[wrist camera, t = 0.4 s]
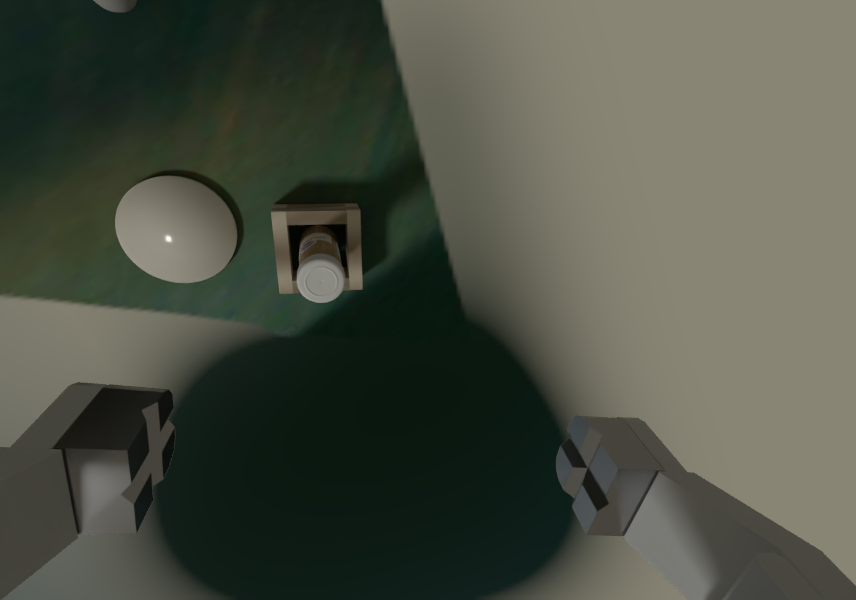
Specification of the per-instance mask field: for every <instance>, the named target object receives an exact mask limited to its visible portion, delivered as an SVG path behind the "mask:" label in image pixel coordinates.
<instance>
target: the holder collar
mask: <svg viewBox="0 0 856 600" xmlns="http://www.w3.org/2000/svg"><path fill="white" fill-rule="evenodd" d="M271 217H272V226H273V236H274V245H275V255H276V265H277V274H278V284H279V293H280V294H288V293H301V292H300V291H299V289H298V286H297V271H298V269H296V270H293V263H292V252H291V241H290V230H289V225H321V224H345V235H346V260H347V267H343V269H344V273H345V286H344V289H343V290H358V289H362V254H361V215H360V209H359V206H358V204H357V203H338V204H274V205H273V208H272V210H271Z"/></svg>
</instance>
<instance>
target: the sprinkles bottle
mask: <svg viewBox="0 0 856 600" xmlns="http://www.w3.org/2000/svg"><path fill="white" fill-rule="evenodd" d="M299 244H300V249H299V268H298V271H297V286H298V289H299V291H300V292H301V294H302V295H303V296H304V297H305V298H307V299H308V300H310V301H313V302H318V303H324V302H329V301H332V300H334V299H335V298H337V297H338V296H339V295H340V294H341V292H342V291H343V289H344V286H345V273H344V269H343V267H342V265H341V258H340V253H339V248H338V242H337V238H336V236H335V234H334V232H333V231H332V230H331V229H329V228H327V227H325V226H321V225H316V226H312V227H309V228H307V229H306V230H305V231H304V232H303V233H302V235H301V238H300V242H299Z"/></svg>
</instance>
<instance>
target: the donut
mask: <svg viewBox="0 0 856 600" xmlns="http://www.w3.org/2000/svg"><path fill="white" fill-rule="evenodd" d="M94 1H95V2H96V3H97V4H98V5H100V6H101V7H103V8H104V9H106V10H109V11H111V12H127V11H130V10H131V9H133V8H134V7H135V5H136V3H137V0H94Z"/></svg>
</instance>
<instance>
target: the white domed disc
mask: <svg viewBox="0 0 856 600" xmlns="http://www.w3.org/2000/svg"><path fill="white" fill-rule="evenodd" d="M115 227H116V233H117V237H118V240H119V242H120V244H121V246H122V248H123V250H124V251H125V253H126V254H127V255H128V257H129V258H130V259H131V260H132V261H133V262H134V263H135V264H136V265H137V266H138V267H140V268H141V269H142V270H144V271H145V272H147V273H149V274H151V275H153V276H155V277H157V278H160V279H163V280H166V281H170V282H177V283H191V282H198V281H202V280H205V279H208V278H210V277H212V276H214V275H215V274H217V273H218V272H220V271H221V270H222V269H223V268H224V267H225V266H226V265H227V264H228V262H229V261H230V259H231V258H232V256H233V254H234V251H235V249H236V245H237V237H238V233H237V225H236V221H235V218H234V216H233V214H232V212H231V210H230V208H229V207H228V205H227V204H226V202H225V201H224V200H223V199H222V198H221V197H220V196H219V195H218V194H217V193H216V192H215V191H214V190H212V189H211V188H209V187H208V186H206V185H204V184H203V183H201V182H198V181H196V180H194V179H190V178H187V177H182V176H174V175H165V176H157V177H153V178H150V179H147V180H145V181H143V182H141V183H139V184H137V185H135V186H134V187H133V188H131V189H130V190H129V191H128V192H127V193H126V194H125V195H124V197H123V198H122V200H121V202H120V204H119V205H118V209H117V212H116V218H115Z"/></svg>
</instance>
